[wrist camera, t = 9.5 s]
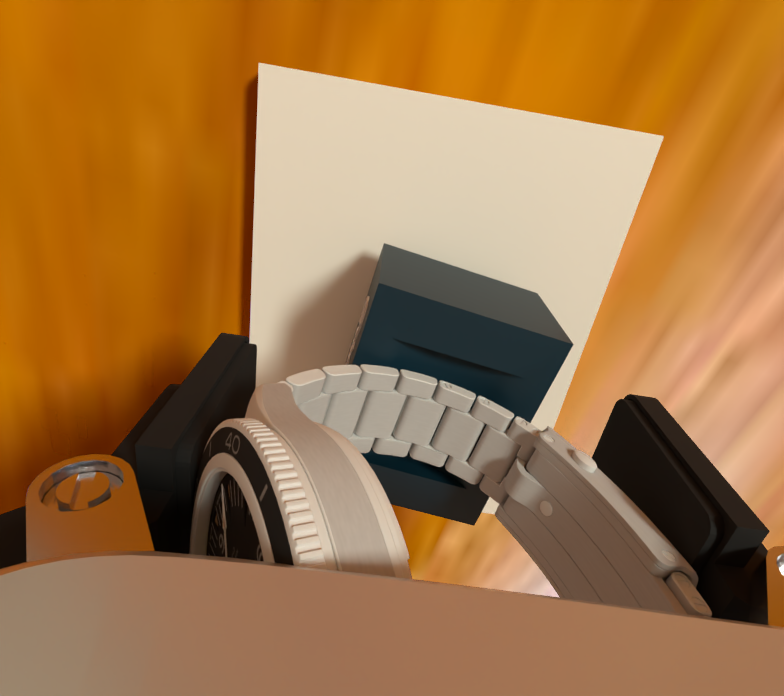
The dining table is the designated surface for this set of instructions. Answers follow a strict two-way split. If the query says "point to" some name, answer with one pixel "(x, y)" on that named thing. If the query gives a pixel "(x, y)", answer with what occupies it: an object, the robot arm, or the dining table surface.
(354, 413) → the watch
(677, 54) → the dining table surface
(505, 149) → the pad
